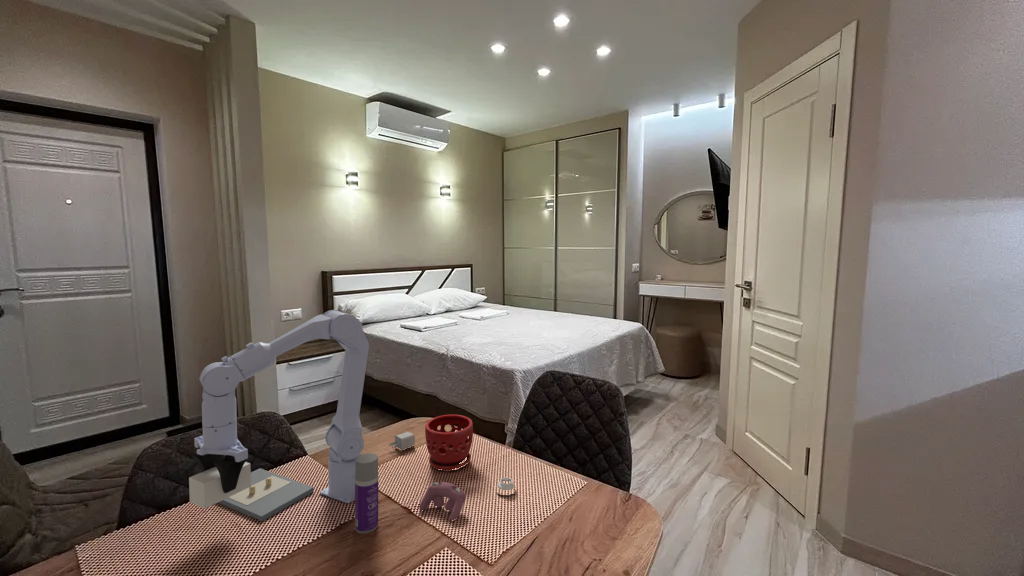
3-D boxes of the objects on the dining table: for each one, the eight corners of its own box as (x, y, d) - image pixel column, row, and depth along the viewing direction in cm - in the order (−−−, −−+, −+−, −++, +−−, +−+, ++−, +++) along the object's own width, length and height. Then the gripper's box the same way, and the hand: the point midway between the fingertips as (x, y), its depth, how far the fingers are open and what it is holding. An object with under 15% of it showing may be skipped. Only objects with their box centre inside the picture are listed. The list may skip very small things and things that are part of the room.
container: (370, 535, 86) (371, 464, 85) (350, 531, 87) (350, 461, 86) (382, 521, 90) (382, 454, 90) (362, 518, 91) (362, 451, 90)
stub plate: (313, 492, 101) (313, 480, 101) (261, 521, 89) (261, 508, 89) (260, 472, 110) (259, 461, 109) (206, 497, 98) (205, 485, 98)
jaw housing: (250, 486, 89) (250, 463, 88) (204, 508, 80) (204, 483, 80) (236, 480, 91) (235, 458, 90) (189, 501, 83) (189, 477, 82)
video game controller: (463, 521, 94) (470, 488, 96) (453, 523, 90) (461, 488, 92) (426, 510, 98) (434, 478, 100) (416, 511, 94) (424, 477, 96)
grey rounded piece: (514, 498, 101) (516, 487, 106) (515, 486, 100) (517, 476, 105) (494, 497, 101) (497, 486, 106) (494, 485, 101) (497, 474, 106)
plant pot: (433, 451, 124) (434, 412, 123) (476, 455, 122) (477, 415, 121) (417, 473, 111) (418, 429, 110) (465, 478, 109) (466, 433, 109)
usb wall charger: (414, 447, 126) (414, 434, 126) (394, 455, 121) (394, 441, 121) (407, 443, 129) (407, 430, 129) (387, 450, 124) (387, 437, 124)
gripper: (177, 422, 84) (178, 487, 85) (220, 436, 78) (222, 506, 79) (214, 411, 91) (215, 472, 91) (257, 423, 84) (258, 488, 85)
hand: (221, 487), depth 86 cm, fingers closed on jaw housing, 5 cm apart
